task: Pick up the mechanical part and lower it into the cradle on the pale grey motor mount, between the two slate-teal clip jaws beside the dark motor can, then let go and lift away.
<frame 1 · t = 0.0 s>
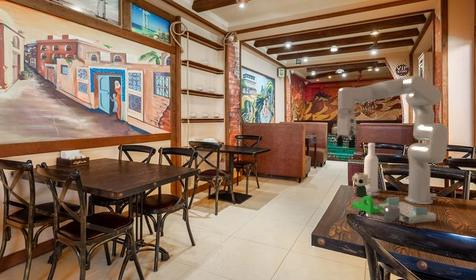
hand: (345, 147, 134), 31 cm above the table, tool pointing down, fingers open, 9 cm apart
bottle: (370, 191, 168), on the table
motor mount: (405, 215, 125), on the table
mechanical part: (365, 210, 134), on the table
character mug: (360, 196, 158), on the table
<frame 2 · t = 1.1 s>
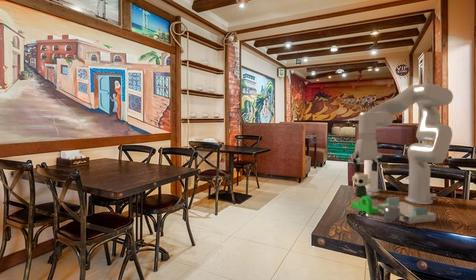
hand: (365, 171, 133), 19 cm above the table, tool pointing down, fingers open, 9 cm apart
nothing on the table moved.
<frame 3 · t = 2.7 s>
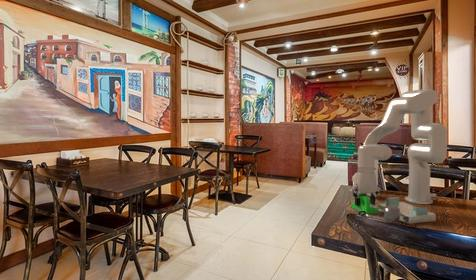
hand: (364, 204, 134), 2 cm above the table, tool pointing down, fingers open, 8 cm apart
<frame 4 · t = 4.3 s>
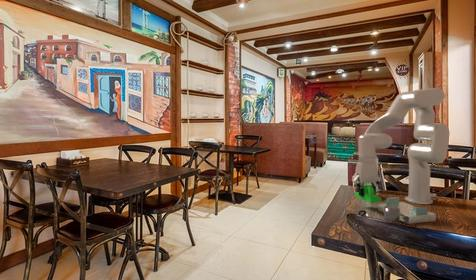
hand: (367, 194, 134), 7 cm above the table, tool pointing down, fingers closed on mechanical part, 6 cm apart
mechanical part: (367, 199, 134), point 5 cm above the table, touching gripper
everything else where it was.
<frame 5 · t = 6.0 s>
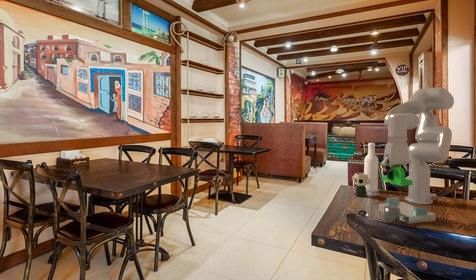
hand: (396, 178, 127), 17 cm above the table, tool pointing down, fingers closed on mechanical part, 6 cm apart
mechanical part: (396, 182, 127), point 15 cm above the table, touching gripper
everything else where it was.
when the fingers open (6 cm above the table, at t = 9.0 s): mechanical part stays where it is, resting on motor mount.
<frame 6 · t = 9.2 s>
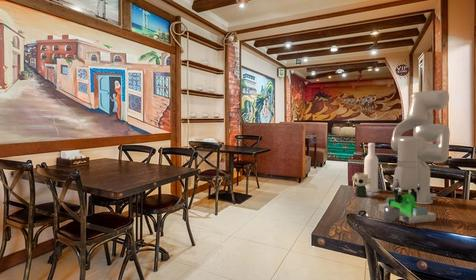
hand: (405, 201, 125), 6 cm above the table, tool pointing down, fingers open, 7 cm apart
mechanical part: (405, 209, 125), point 3 cm above the table, touching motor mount
everything else where it was.
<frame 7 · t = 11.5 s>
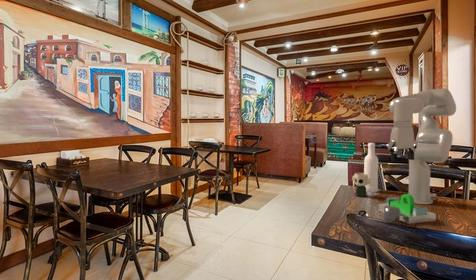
hand: (402, 160, 129), 25 cm above the table, tool pointing down, fingers open, 9 cm apart
nothing on the table moved.
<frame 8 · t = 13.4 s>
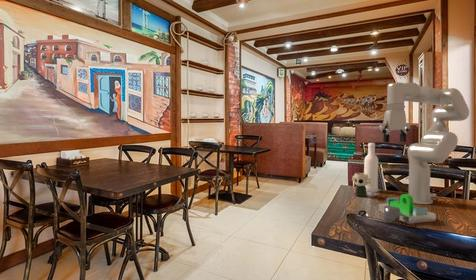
hand: (394, 141, 135), 33 cm above the table, tool pointing down, fingers open, 9 cm apart
nothing on the table moved.
at the end: mechanical part 0.5 cm off-centre on the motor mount, point 2.8 cm above the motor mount's base; the gripper is holding nothing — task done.
